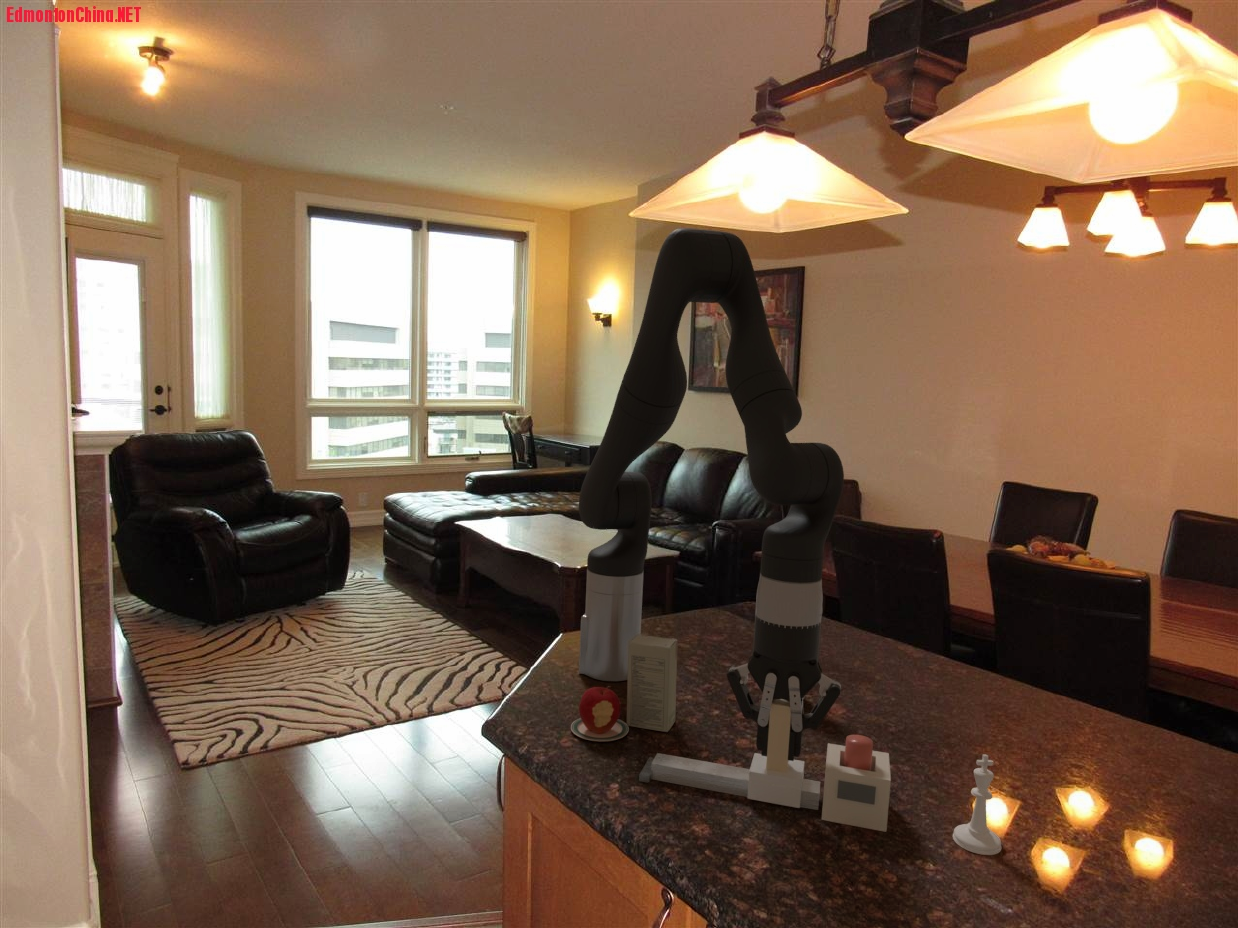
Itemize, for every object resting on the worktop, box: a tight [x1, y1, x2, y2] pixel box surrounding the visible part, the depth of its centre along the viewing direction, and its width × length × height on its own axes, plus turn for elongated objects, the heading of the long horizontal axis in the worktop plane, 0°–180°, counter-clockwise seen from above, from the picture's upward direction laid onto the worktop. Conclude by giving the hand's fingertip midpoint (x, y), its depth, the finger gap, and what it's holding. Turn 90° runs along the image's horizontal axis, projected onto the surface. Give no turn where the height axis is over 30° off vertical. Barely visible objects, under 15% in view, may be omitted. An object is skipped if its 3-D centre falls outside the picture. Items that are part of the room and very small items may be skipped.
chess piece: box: [952, 753, 1003, 856], centre depth 90 cm, size 5×5×10 cm
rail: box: [638, 752, 821, 811], centre depth 100 cm, size 21×5×2 cm, turn 74°
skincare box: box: [626, 634, 678, 733], centre depth 116 cm, size 6×4×12 cm
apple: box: [570, 685, 630, 742], centre depth 113 cm, size 8×8×6 cm
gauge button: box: [844, 734, 874, 771], centre depth 95 cm, size 3×3×5 cm
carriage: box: [746, 699, 805, 809], centre depth 97 cm, size 6×5×11 cm
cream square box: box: [821, 742, 892, 833], centre depth 95 cm, size 7×7×6 cm
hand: (778, 754), depth 98 cm, fingers closed on carriage, 2 cm apart
